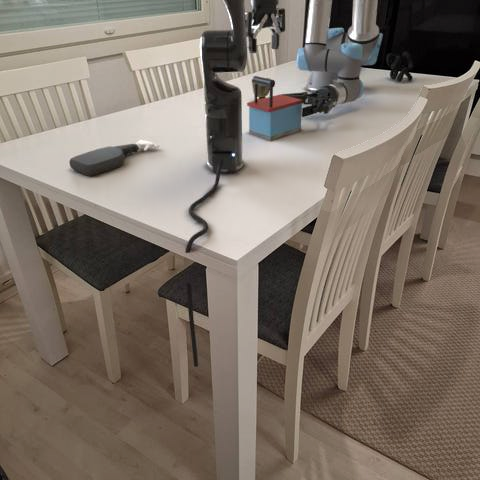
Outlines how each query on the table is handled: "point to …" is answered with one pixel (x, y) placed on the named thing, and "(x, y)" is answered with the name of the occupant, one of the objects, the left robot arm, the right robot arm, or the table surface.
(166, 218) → the table surface
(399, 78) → the squiggle
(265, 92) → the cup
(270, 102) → the lid
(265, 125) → the chest
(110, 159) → the wireless presentation dongle
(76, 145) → the table surface
